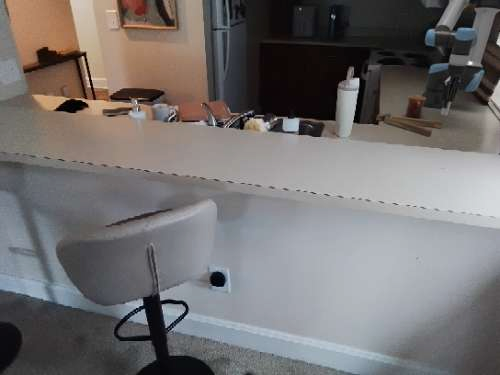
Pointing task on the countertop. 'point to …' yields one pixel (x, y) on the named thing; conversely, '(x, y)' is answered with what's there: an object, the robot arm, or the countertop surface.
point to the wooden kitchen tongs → (403, 124)
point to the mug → (415, 106)
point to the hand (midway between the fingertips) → (444, 114)
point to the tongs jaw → (420, 121)
